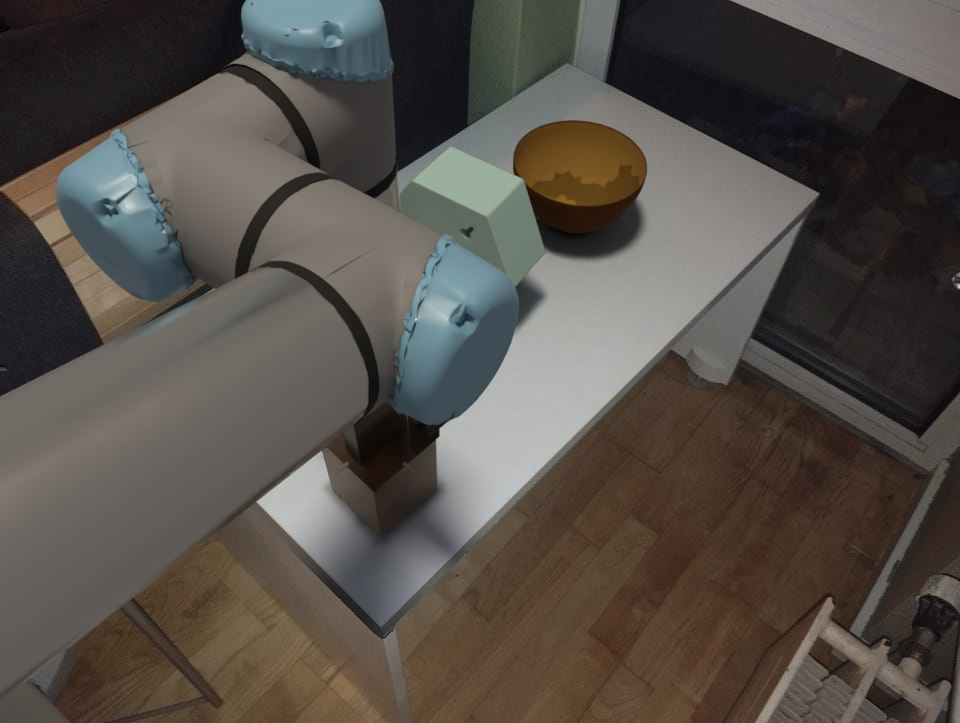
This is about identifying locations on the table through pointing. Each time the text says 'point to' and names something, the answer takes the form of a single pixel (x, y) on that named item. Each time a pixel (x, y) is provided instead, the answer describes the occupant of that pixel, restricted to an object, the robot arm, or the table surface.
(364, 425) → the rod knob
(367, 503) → the pegged wooden cube
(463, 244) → the sage hexagonal prism
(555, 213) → the bowl
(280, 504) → the table surface
